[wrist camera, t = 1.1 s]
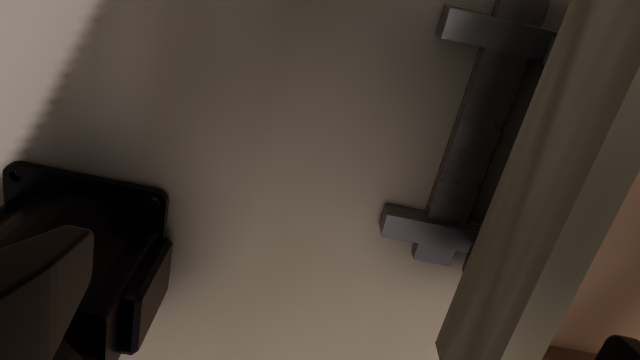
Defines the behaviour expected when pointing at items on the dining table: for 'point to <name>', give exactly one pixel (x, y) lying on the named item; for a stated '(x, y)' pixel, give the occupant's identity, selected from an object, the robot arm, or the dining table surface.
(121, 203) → the robot arm
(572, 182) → the cart
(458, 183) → the rail
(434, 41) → the dining table surface
